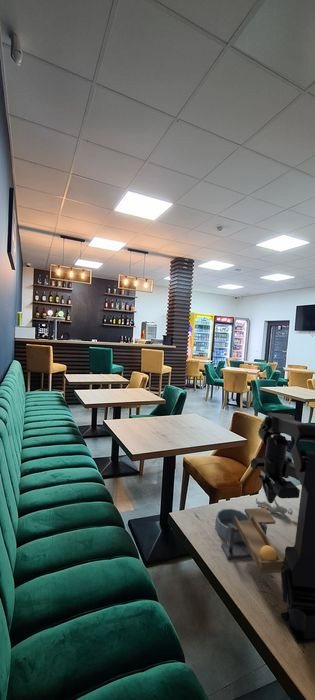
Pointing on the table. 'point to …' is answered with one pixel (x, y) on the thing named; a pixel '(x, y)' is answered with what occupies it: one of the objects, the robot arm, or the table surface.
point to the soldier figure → (274, 507)
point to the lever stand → (237, 544)
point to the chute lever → (258, 538)
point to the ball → (267, 553)
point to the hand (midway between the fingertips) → (270, 502)
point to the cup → (228, 517)
